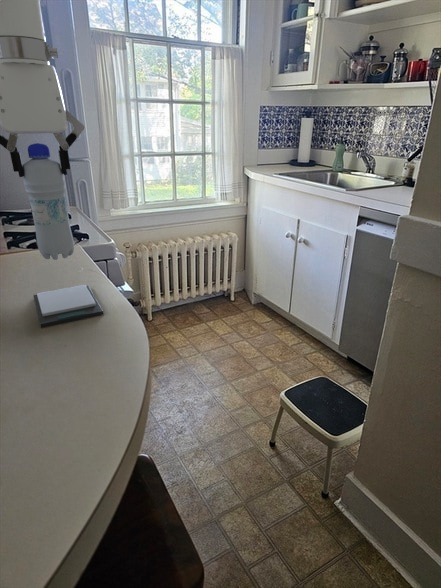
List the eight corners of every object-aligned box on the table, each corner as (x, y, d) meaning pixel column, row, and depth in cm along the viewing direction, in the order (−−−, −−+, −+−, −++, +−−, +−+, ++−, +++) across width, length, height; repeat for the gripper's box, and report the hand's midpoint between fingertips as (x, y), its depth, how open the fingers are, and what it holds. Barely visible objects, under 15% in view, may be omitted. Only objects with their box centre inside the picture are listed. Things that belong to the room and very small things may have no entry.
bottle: (31, 257, 73) (7, 143, 65) (62, 248, 78) (43, 141, 70) (53, 264, 70) (30, 145, 62) (84, 254, 75) (67, 142, 67)
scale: (35, 305, 81) (32, 292, 80) (89, 295, 86) (87, 282, 85) (42, 335, 70) (39, 321, 69) (104, 322, 75) (102, 308, 73)
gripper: (78, 60, 67) (92, 170, 74) (-39, 54, 61) (-11, 174, 68) (82, 55, 61) (97, 175, 68) (-48, 47, 54) (-16, 180, 62)
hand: (43, 174), depth 68 cm, fingers closed on bottle, 6 cm apart
